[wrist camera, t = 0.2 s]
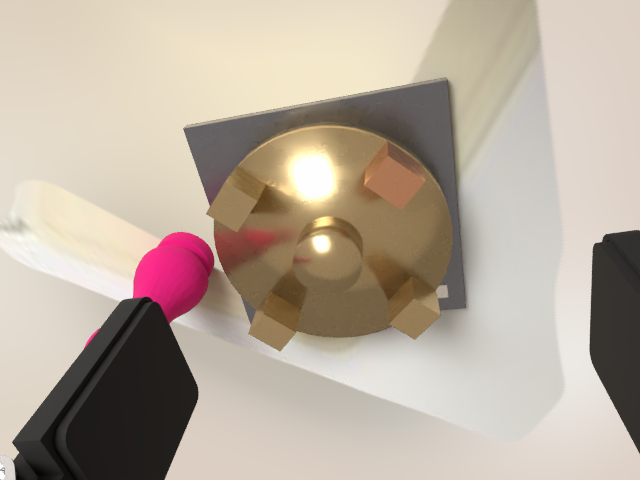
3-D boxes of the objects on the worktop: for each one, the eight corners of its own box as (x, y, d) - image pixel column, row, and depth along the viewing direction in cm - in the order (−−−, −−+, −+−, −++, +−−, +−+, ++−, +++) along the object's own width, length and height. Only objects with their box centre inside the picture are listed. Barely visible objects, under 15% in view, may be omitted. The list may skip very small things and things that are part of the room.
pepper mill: (230, 250, 53) (159, 391, 36) (201, 293, 57) (123, 441, 39) (170, 215, 52) (66, 344, 35) (144, 261, 55) (38, 400, 38)
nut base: (186, 125, 47) (175, 135, 44) (446, 77, 42) (450, 85, 40) (254, 323, 58) (248, 340, 55) (464, 302, 53) (468, 319, 51)
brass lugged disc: (188, 144, 44) (165, 167, 40) (438, 100, 40) (446, 120, 35) (254, 333, 55) (242, 369, 50) (458, 314, 50) (466, 351, 46)
